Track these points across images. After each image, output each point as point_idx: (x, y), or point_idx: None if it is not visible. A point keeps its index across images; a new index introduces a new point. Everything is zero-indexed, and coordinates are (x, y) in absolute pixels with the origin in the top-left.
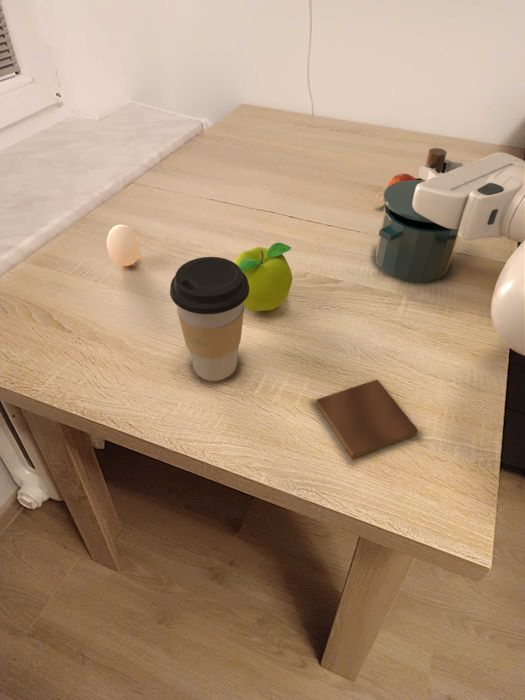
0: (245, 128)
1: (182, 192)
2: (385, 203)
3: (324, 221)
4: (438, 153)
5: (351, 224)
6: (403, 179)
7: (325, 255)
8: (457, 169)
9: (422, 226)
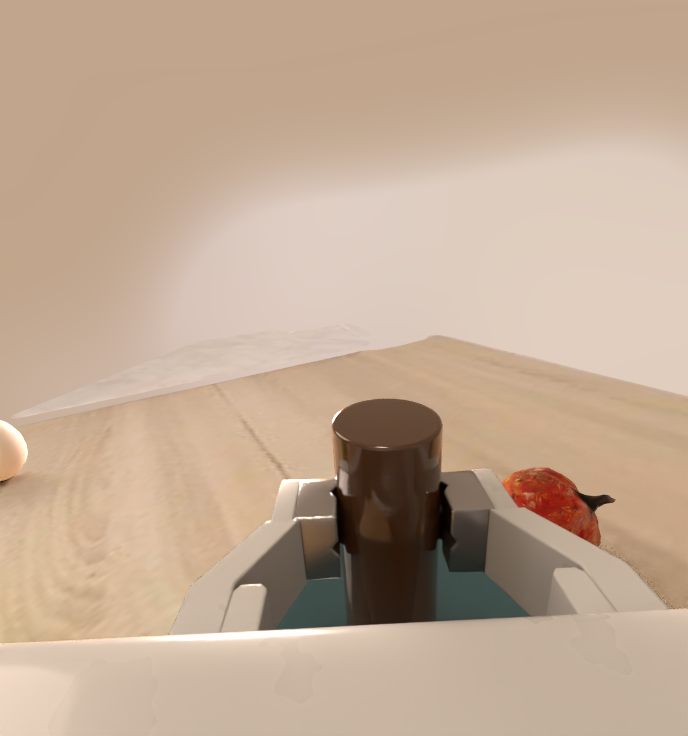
0: (409, 355)
1: (233, 404)
2: None
3: None
4: (365, 432)
5: None
6: (530, 486)
7: None
8: (332, 658)
9: None
